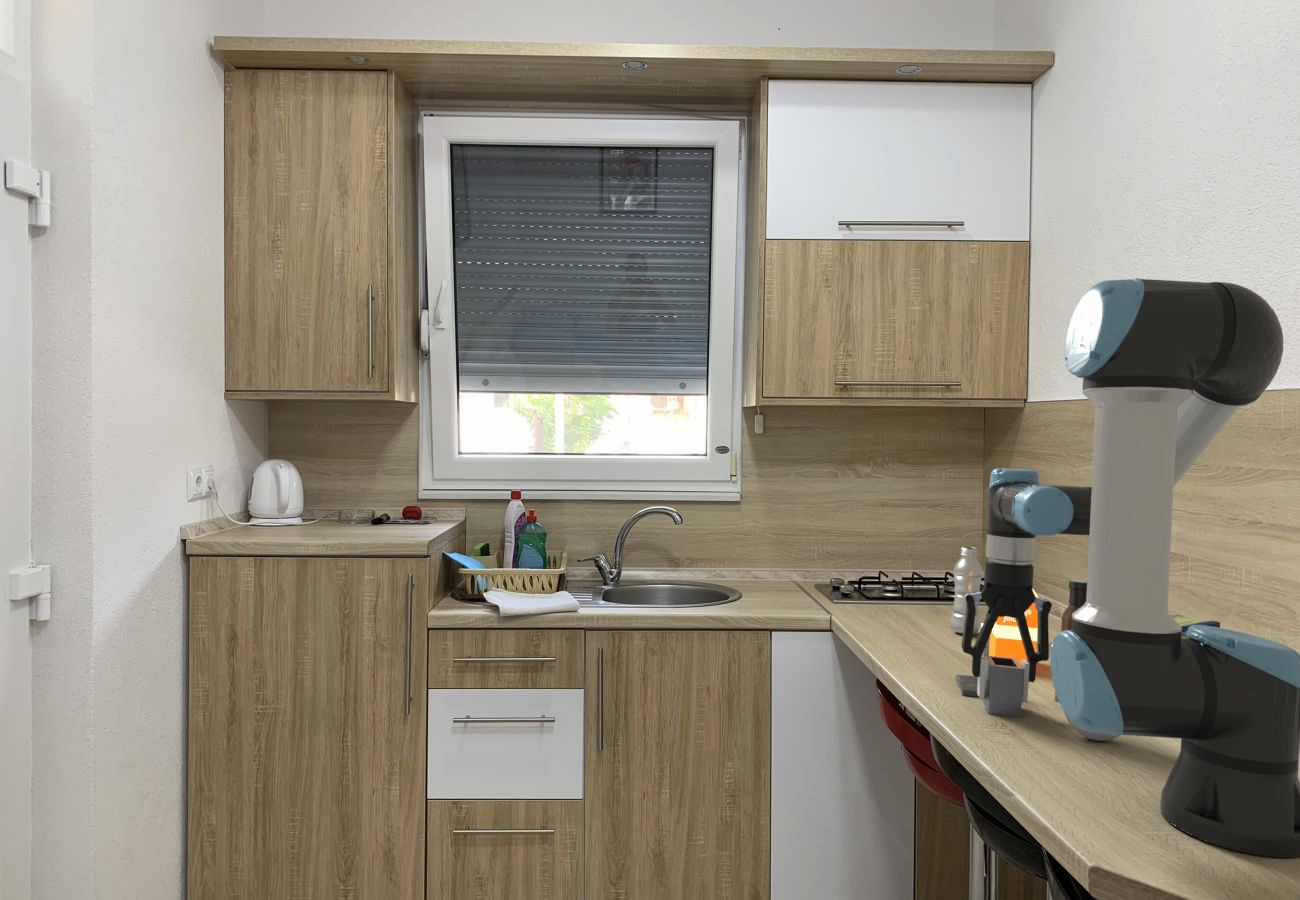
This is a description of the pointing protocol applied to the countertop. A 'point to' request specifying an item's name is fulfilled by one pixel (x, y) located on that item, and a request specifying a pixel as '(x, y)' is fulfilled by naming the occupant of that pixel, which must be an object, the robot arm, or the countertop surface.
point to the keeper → (971, 678)
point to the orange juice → (1012, 635)
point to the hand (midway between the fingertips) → (1001, 697)
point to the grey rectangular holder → (1003, 686)
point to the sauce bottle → (1074, 601)
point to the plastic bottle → (965, 587)
